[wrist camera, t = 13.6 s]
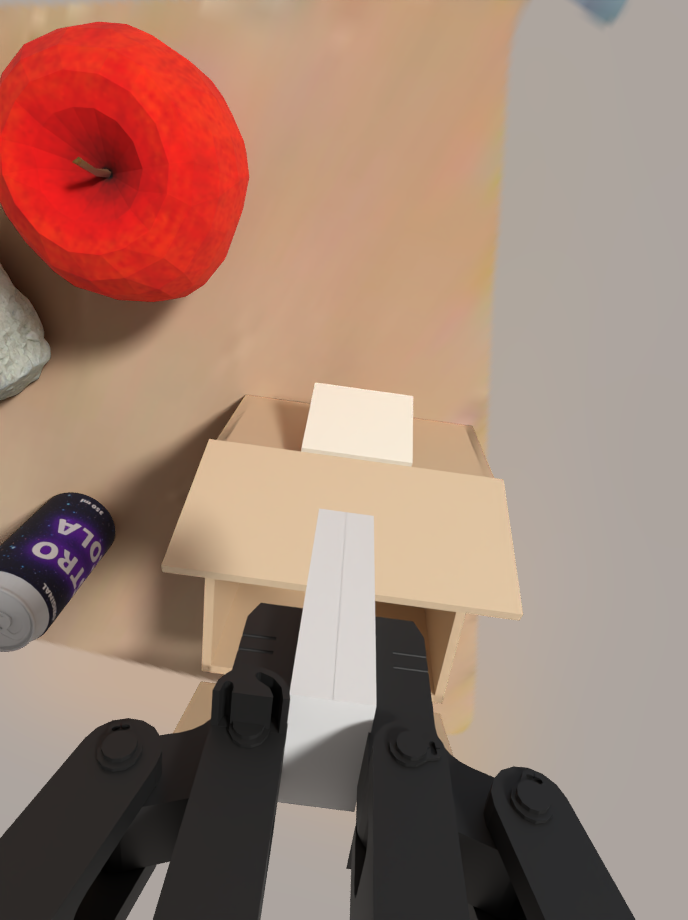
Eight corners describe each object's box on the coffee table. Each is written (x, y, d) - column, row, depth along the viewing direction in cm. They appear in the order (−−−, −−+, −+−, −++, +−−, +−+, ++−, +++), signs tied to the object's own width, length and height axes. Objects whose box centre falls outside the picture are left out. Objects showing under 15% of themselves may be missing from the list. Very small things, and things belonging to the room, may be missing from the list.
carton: (233, 583, 48) (201, 672, 39) (245, 394, 41) (209, 449, 32) (429, 609, 48) (441, 704, 39) (472, 426, 41) (499, 489, 32)
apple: (274, 284, 38) (227, 326, 26) (95, 278, 39) (-35, 316, 26) (270, 67, 33) (210, -7, 21) (65, 62, 34) (-111, -14, 22)
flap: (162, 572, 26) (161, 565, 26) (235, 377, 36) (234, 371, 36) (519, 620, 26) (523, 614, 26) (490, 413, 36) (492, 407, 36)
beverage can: (107, 561, 48) (28, 670, 37) (39, 532, 47) (-63, 635, 36) (129, 506, 45) (51, 604, 35) (58, 475, 45) (-45, 565, 34)
